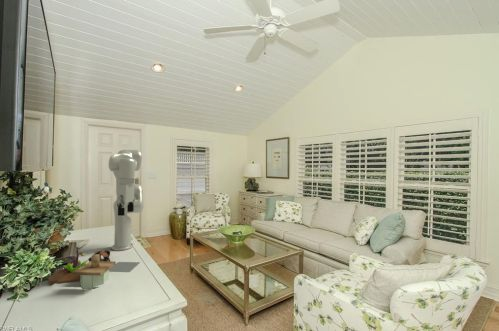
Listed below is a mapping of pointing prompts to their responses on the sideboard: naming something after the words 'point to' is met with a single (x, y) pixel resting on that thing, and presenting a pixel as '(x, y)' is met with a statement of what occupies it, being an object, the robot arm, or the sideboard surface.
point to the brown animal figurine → (104, 254)
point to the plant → (67, 272)
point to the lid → (94, 266)
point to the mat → (123, 266)
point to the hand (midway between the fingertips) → (125, 213)
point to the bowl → (93, 280)
